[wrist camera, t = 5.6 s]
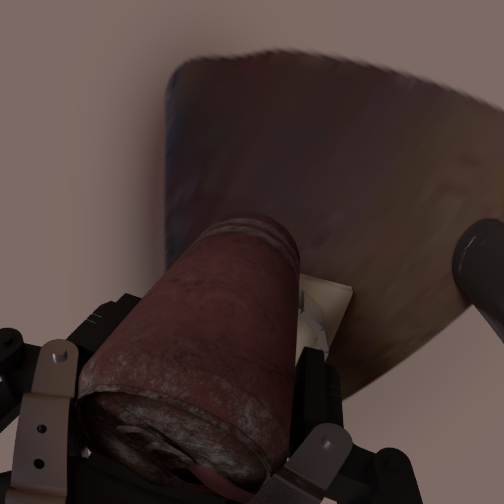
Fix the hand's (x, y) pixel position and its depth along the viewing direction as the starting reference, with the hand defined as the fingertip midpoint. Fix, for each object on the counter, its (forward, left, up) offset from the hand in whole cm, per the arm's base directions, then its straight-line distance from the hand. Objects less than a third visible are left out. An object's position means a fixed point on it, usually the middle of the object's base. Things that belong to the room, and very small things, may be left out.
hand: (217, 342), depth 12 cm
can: (0, 0, -8) cm, 8 cm away
